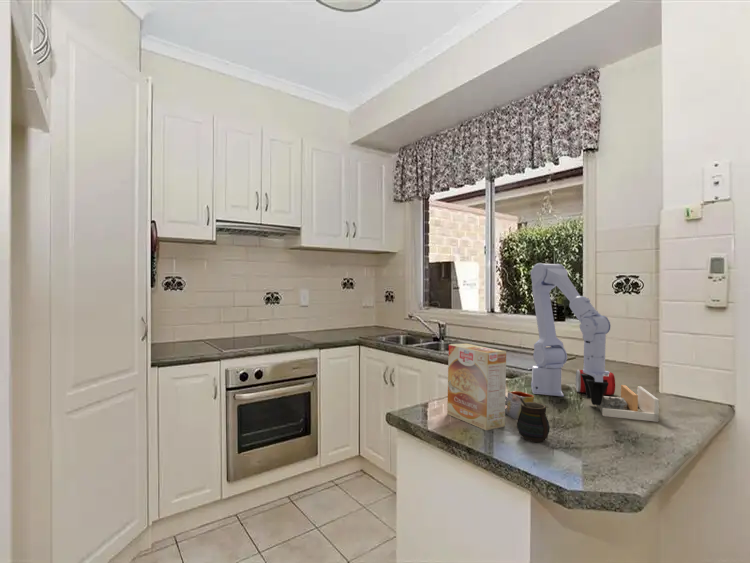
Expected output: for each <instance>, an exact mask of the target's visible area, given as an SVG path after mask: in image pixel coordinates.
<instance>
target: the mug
mask: <svg viewBox="0 0 750 563" xmlns="http://www.w3.org/2000/svg"><path fill="white" fill-rule="evenodd" d="M520 398H522V400H523V401H524V402H535V401H534V400H535V396H534V395H533V394H531V393H527V392H523V391H520V390H514V391H508V393H507V396H506V395H505V406H506V407H505V416H506V415H507V416H509V417H510V418H511V419H512V420H513V419H514V420H516V421H518V417H519V415H520V412H521V404H522V401H521V400H520Z"/></svg>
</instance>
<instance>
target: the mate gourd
mask: <svg viewBox="0 0 750 563" xmlns="http://www.w3.org/2000/svg"><path fill="white" fill-rule="evenodd" d="M520 400H521V401H522V404H521V412H520V415H519V417H518V420H516V428H517V430H518V434H519V435H520V436H521V438H523V439H524V440H526V441H528V442H533V443H534V442H535V443H544V441H546V439H547V438H548V437H549V433H550V428H551V426H550V422H549V419H548V418H547V414H546V412H547V406H546V405H544V404H542V403H539V402H535V401H534V402H524V401H523V400H522V398H520Z"/></svg>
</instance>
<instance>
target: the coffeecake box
mask: <svg viewBox="0 0 750 563" xmlns="http://www.w3.org/2000/svg"><path fill="white" fill-rule="evenodd" d="M447 358H448V360H447V361H448V366H447V404H446V405H447V408H446V410H447V411H446V412H447V413H446V415H448V416H451V417H453V418H455V419H458V420H460V421H463V422H465V423H467V424H470V425H471V426H472V425H473V426H475V427H477V428H478V429H481V430H484V431H486V432H487V431H490V430H491V431H492V430H494V429H500V428H504V427H505V426H506V414H505V409H506V405H505V401H506V399H505V396H506V387H507V386H506V383H507V381H506V380H507V350H500V349H496V348H492V347H491V348H490V347H488V346H487V347H485V346H481V345H476V344H471V343H467V342H465V343H451V344H448V356H447Z"/></svg>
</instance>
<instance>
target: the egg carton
mask: <svg viewBox="0 0 750 563" xmlns="http://www.w3.org/2000/svg"><path fill="white" fill-rule="evenodd" d="M604 396H605V395H603V397H602V401H601V404H600V405H596V407H597V408H598V409H599V410H600V412H601V413H602V408H609V409H619V410H627V405H628V404H627V402H626V401H625V400H624V398H621V397H618V398H616V396H614V397H615V398H614V399H613V398H611V397H612V396H608V397H609V399H605V398H604Z"/></svg>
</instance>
